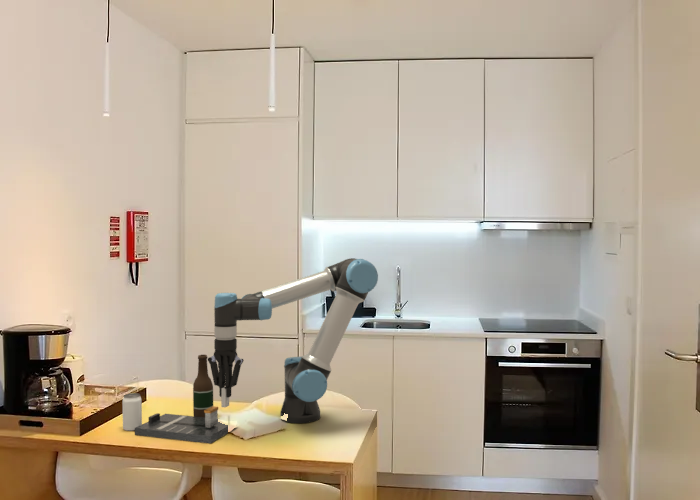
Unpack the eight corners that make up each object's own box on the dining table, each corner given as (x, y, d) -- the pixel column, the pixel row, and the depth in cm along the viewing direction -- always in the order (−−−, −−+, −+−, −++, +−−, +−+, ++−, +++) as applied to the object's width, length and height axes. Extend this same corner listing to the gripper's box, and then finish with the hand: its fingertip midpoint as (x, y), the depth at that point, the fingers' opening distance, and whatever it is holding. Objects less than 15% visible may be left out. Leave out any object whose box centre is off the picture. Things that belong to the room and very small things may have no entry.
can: (135, 431, 220) (135, 398, 220) (119, 430, 222) (118, 397, 221) (145, 426, 227) (144, 393, 226) (129, 425, 228) (128, 392, 228)
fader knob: (218, 423, 219) (218, 406, 219) (210, 427, 214) (210, 410, 214) (212, 422, 220) (212, 406, 220) (204, 427, 215) (204, 410, 215)
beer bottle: (216, 415, 239) (215, 353, 239) (210, 421, 231) (209, 357, 231) (197, 415, 240) (196, 353, 239) (189, 421, 232) (188, 357, 232)
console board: (237, 427, 224) (236, 415, 224) (210, 443, 207) (210, 430, 207) (165, 420, 234) (165, 408, 234) (134, 435, 217) (134, 422, 216)
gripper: (247, 337, 216) (247, 405, 216) (214, 335, 220) (214, 401, 220) (237, 340, 209) (236, 411, 209) (203, 338, 213) (202, 407, 213)
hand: (225, 406), depth 215 cm, fingers closed
